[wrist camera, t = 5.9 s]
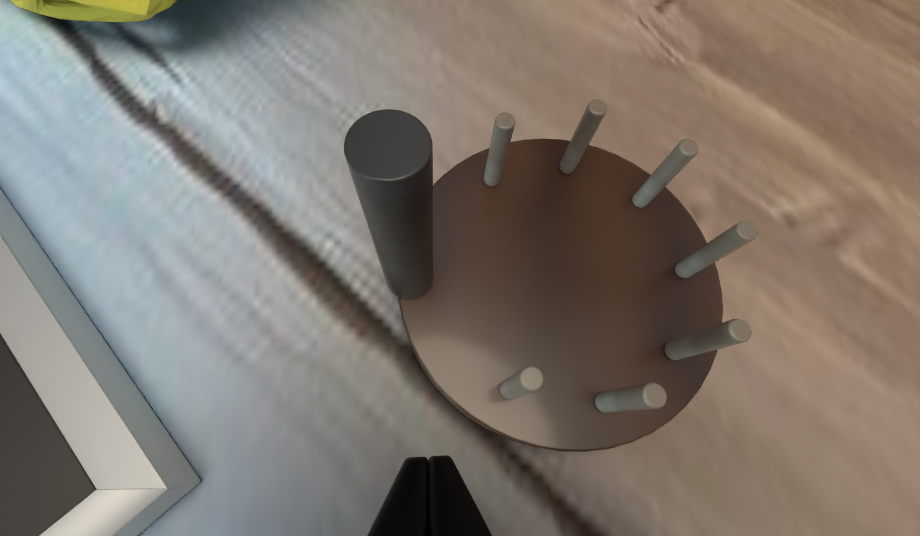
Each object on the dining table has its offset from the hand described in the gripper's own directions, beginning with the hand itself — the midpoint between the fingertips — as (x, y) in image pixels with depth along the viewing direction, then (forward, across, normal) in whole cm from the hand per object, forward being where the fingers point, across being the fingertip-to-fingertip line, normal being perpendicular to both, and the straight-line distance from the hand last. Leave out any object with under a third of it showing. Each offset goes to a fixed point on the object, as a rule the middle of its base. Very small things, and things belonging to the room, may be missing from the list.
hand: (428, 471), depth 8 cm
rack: (+10, -5, +1) cm, 12 cm away
